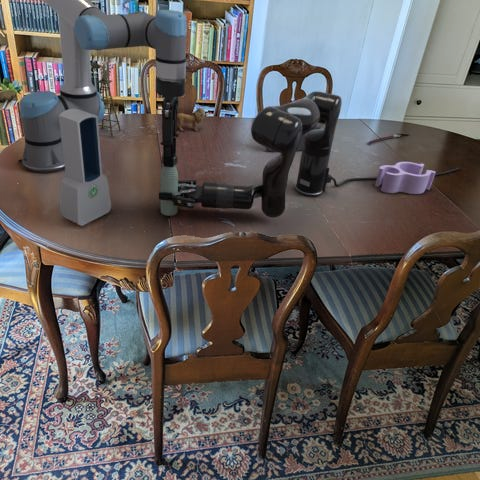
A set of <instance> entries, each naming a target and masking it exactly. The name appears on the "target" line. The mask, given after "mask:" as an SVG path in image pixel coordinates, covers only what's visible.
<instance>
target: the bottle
mask: <svg viewBox="0 0 480 480" xmlns="http://www.w3.org/2000/svg"><path fill="white" fill-rule="evenodd" d="M178 181H179V172H178V169H177V166H176V165H173V167H163V166H162V169H161V171H160V192H168V193H178ZM173 204H174V203H173V202H172V201H169V200H160V213H161V214H162V215H163V216H167V217H168V216H169V217H170V216H175V215H176V214H178V207H179V206H175V205H173Z"/></svg>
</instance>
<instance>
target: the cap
mask: <svg viewBox="0 0 480 480" xmlns="http://www.w3.org/2000/svg"><path fill="white" fill-rule="evenodd" d="M161 164H163V153H162V154H161ZM177 164H178V154H177V152H176V153H174V159H173V165H175V166H176V165H177Z"/></svg>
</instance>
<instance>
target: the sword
mask: <svg viewBox="0 0 480 480" xmlns="http://www.w3.org/2000/svg"><path fill="white" fill-rule="evenodd" d="M401 134H402V133H396V134H392V135H389V136H383V137H379V138H376V139H372V140H370V141H368V143H367V144H368V145H372V144H373V143H377V142H381V141H384V140H389V139H393V138H400V137H402V136H406V135H409V134H404V135H401Z"/></svg>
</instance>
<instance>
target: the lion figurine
mask: <svg viewBox="0 0 480 480" xmlns="http://www.w3.org/2000/svg"><path fill="white" fill-rule="evenodd" d="M205 116H206V113H205V109H204V108H203V107H199V108H196V110H195V111H193V112H192V113H190V114H186V113H182V112H181V113H177V124H178V128H179V130H180V131H182V132H183V131H184V128H182V125H183V122H184V123H186V124H191V128H192V129H193V130H194V131H195V132H197V131H198V129H197V127H198V124H200V123H202V121H203V120H204V118H205Z"/></svg>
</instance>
